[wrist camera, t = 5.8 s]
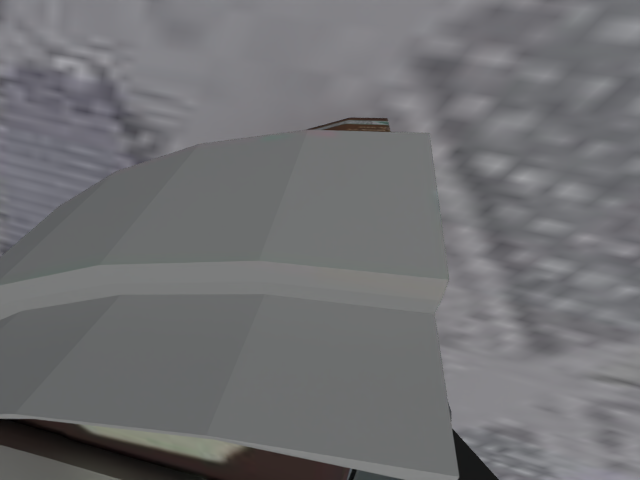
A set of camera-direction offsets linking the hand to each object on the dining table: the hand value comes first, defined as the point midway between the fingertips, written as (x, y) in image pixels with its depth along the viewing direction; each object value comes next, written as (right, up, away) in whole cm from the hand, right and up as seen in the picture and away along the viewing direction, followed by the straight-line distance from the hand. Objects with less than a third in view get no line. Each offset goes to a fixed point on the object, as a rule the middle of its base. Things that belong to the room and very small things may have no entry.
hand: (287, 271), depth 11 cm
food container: (0, +2, +2) cm, 3 cm away
